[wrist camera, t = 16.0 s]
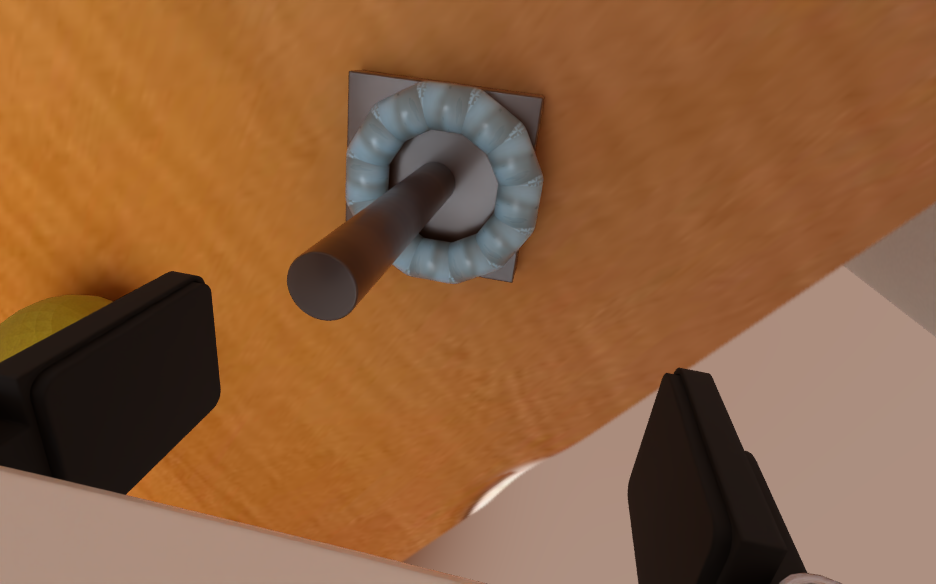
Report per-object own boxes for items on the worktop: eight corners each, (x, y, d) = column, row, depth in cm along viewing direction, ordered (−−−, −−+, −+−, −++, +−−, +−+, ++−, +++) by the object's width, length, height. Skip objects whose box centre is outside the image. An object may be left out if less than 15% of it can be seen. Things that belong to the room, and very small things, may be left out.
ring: (558, 97, 23) (557, 100, 22) (524, 287, 27) (521, 303, 25) (357, 69, 24) (341, 70, 23) (352, 256, 28) (337, 269, 26)
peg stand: (544, 95, 25) (515, 139, 12) (515, 272, 29) (467, 454, 16) (360, 69, 26) (143, 84, 13) (355, 244, 30) (183, 392, 17)
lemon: (120, 249, 32) (-8, 304, 25) (205, 348, 34) (109, 425, 27) (27, 324, 36) (-108, 391, 29) (108, 409, 38) (1, 491, 31)
